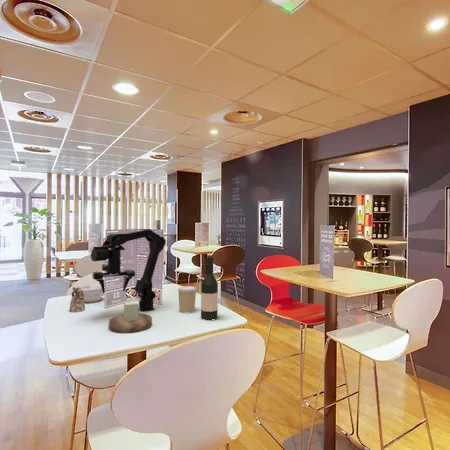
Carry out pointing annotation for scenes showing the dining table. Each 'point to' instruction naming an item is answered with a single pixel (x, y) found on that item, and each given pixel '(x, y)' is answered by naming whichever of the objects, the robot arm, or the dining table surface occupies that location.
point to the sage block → (130, 311)
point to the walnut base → (130, 324)
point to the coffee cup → (187, 298)
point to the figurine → (77, 300)
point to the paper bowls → (92, 293)
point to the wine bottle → (209, 293)
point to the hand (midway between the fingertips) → (113, 292)
